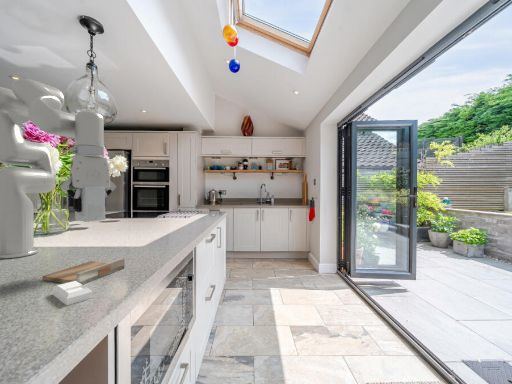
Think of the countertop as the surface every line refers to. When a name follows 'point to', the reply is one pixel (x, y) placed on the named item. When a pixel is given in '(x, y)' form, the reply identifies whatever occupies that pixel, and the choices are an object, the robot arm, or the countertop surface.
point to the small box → (92, 204)
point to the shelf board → (85, 272)
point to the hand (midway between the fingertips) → (90, 210)
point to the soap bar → (72, 292)
